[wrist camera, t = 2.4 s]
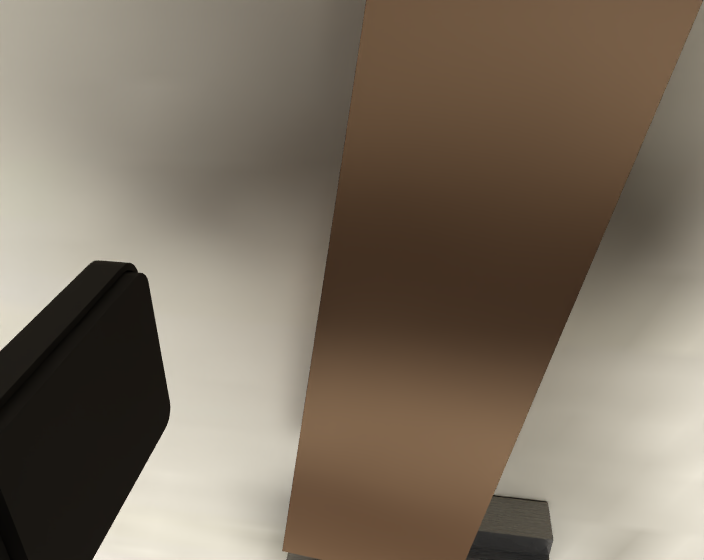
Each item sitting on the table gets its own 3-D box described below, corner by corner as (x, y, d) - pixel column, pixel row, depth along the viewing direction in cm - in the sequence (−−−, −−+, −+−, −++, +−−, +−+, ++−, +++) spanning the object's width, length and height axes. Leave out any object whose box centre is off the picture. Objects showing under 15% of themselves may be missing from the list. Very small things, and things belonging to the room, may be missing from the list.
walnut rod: (444, -342, 9) (436, -466, 6) (719, -296, 9) (871, -398, 6) (314, 425, 18) (282, 550, 15) (453, 455, 18) (453, 588, 15)
